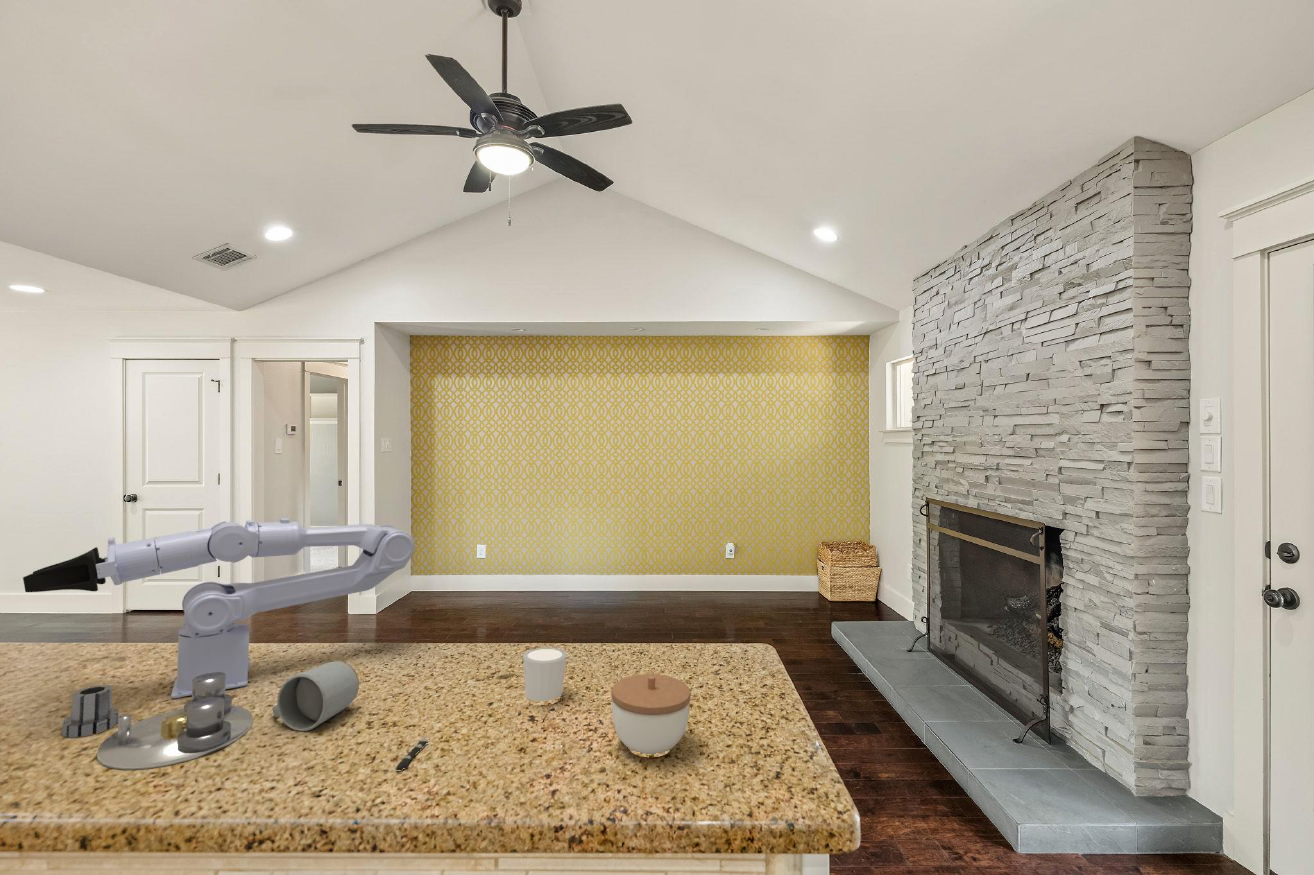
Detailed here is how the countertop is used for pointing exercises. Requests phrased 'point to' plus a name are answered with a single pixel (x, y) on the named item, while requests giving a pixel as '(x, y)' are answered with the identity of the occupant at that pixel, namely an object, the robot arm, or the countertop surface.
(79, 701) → the planet gear
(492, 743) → the countertop surface
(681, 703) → the lidded jar
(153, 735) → the carrier
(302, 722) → the ceramic mug
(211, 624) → the robot arm
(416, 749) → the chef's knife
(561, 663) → the white short cylinder
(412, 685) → the countertop surface
